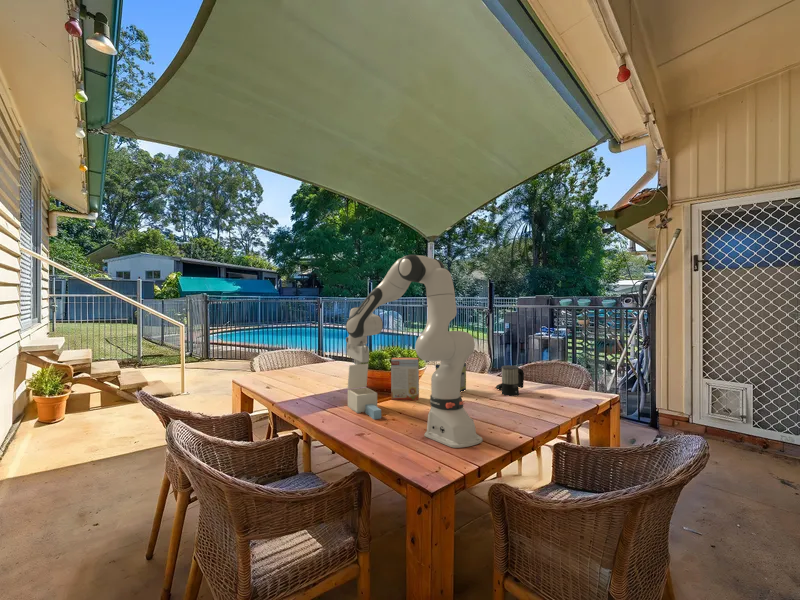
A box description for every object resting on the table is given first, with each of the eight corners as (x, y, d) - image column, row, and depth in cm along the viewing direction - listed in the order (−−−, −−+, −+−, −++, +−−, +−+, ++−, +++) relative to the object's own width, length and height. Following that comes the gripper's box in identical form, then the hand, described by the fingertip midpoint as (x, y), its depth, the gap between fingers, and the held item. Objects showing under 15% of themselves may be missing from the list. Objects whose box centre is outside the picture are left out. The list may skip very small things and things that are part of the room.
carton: (377, 410, 175) (377, 392, 175) (357, 413, 170) (357, 395, 170) (366, 403, 186) (366, 387, 185) (347, 406, 181) (347, 389, 181)
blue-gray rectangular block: (381, 418, 163) (381, 409, 163) (373, 420, 162) (373, 410, 162) (372, 412, 172) (372, 403, 172) (365, 413, 171) (365, 404, 171)
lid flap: (368, 363, 183) (367, 363, 184) (349, 365, 179) (349, 365, 179) (366, 386, 185) (366, 386, 186) (348, 389, 181) (347, 388, 181)
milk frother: (513, 397, 196) (513, 369, 196) (487, 392, 207) (487, 365, 207) (526, 392, 207) (526, 365, 207) (500, 387, 218) (500, 362, 217)
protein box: (435, 393, 206) (435, 364, 206) (450, 387, 218) (450, 360, 218) (451, 396, 199) (451, 366, 199) (466, 390, 211) (466, 362, 211)
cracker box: (419, 397, 197) (419, 357, 197) (418, 400, 191) (418, 359, 191) (392, 396, 198) (392, 357, 198) (391, 399, 192) (390, 358, 192)
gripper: (372, 342, 175) (372, 372, 175) (356, 337, 193) (355, 364, 193) (360, 343, 172) (359, 373, 172) (344, 337, 190) (344, 365, 190)
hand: (357, 368), depth 183 cm, fingers closed
